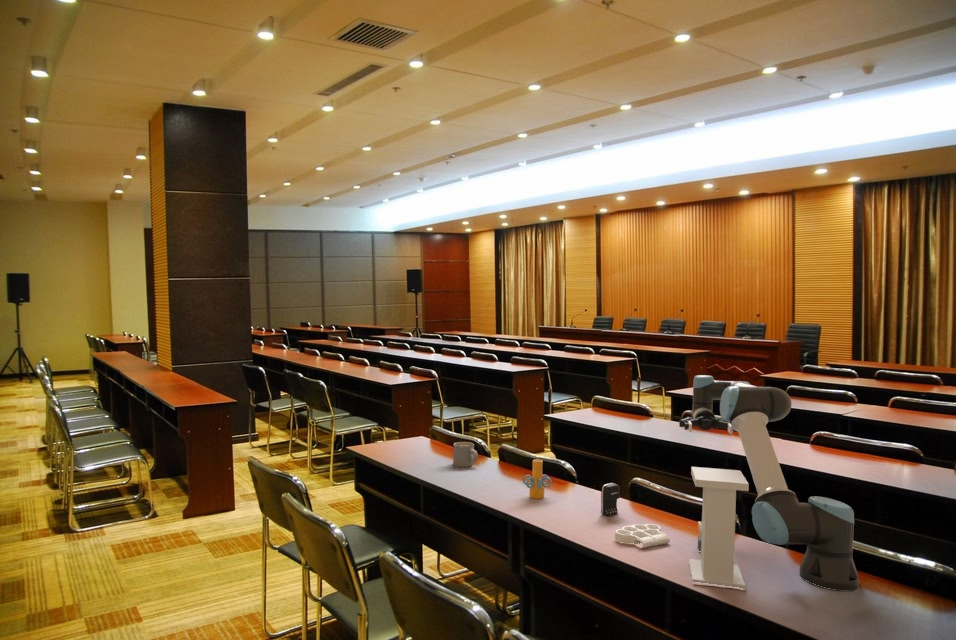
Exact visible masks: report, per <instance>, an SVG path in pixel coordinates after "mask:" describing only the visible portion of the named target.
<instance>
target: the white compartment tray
mask: <svg viewBox="0 0 956 640" xmlns="http://www.w3.org/2000/svg"><path fill="white" fill-rule="evenodd" d="M615 539H616V540H617V541H619V542H623V543H634V544H638V543H639V544H640V543H642V544H643V547H642V549H644V548H649V547H655V546H660V545H665V543H666V544H668V543H670V542H671V540H670V537H669V536H668V535H667V534H666V533H664V532H662V528H661V526H660V525H657V524H653V523H646V524H639V523H637V524H631V525H625V526H622V528H620V529H615V531H614V540H615Z"/></svg>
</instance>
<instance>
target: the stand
mask: <svg viewBox="0 0 956 640" xmlns="http://www.w3.org/2000/svg"><path fill="white" fill-rule="evenodd" d="M690 470H691V471H690V474H691V477H692V480H693V483H694V487H698V488H702V505H701V506H702V510H701V511H702V512H701V522H702V537H701V553H700V559H692V558H688V562H689V564H688V568H689V567H690V569H689V573H690V572H691V574H690V577H691V576H692V579H691V582H692V581H693V582H701V583H709V584H717V585H725V586H732V587H739V588H743V589H745V590H746V583H745V581H744V578H743V575H742V573H741V569H740V568H739V565H738V564H737V563H735V540H736V539H735V537H736V508H737V507H736V505H737V504H736V501H737V491H741V492H742V491H744V492H749V490H750V488H749V486H750V485H749V484H750V483H749V482H748V481H747V479H746V477H745V476H744V474H743V473H742V471H741V470H737V469H725V468H712V467H699V466H691V467H690Z"/></svg>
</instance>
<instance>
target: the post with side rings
mask: <svg viewBox="0 0 956 640" xmlns="http://www.w3.org/2000/svg"><path fill="white" fill-rule="evenodd" d="M526 478H527V479H526ZM525 479H526V480H525ZM529 481H530V482H529ZM544 481H545V482H544ZM548 481H549V484H548V485H547V483H548ZM522 483H523V484H524V485H525V486H526V487H527V488H529V498H531V499H534V500H541V499H544V497H545V488H550V487H551V486H552V484H553V481H552V479H551V478H550V477H549V476H548V475H547V474H543V460H542V459H533V460H532V476H531V475H530V474H526V475H524V476H523V477H522Z"/></svg>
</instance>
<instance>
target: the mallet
mask: <svg viewBox="0 0 956 640" xmlns="http://www.w3.org/2000/svg"><path fill="white" fill-rule="evenodd" d="M697 529H698V533H699V535H698V536H697V551H698V550H699V551H701V537H702V520H701V521H697Z"/></svg>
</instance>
